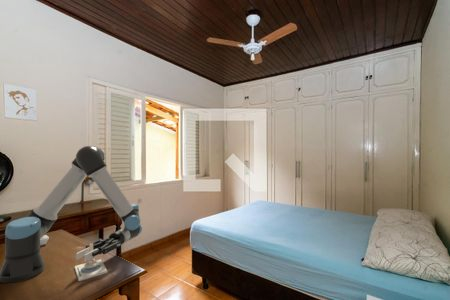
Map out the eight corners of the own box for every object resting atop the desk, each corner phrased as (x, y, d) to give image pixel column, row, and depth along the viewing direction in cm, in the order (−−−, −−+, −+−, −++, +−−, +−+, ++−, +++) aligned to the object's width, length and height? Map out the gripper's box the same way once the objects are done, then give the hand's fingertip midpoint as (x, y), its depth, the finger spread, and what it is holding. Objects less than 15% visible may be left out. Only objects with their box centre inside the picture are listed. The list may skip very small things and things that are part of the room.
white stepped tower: (99, 264, 104) (99, 242, 104) (86, 269, 100) (86, 245, 100) (95, 261, 107) (95, 239, 107) (82, 265, 103) (83, 242, 103)
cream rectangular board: (74, 267, 105) (74, 265, 105) (100, 260, 112) (100, 259, 112) (78, 281, 95) (78, 279, 95) (107, 272, 102) (107, 270, 102)
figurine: (33, 248, 125) (34, 221, 125) (29, 244, 131) (30, 218, 131) (49, 244, 130) (50, 218, 130) (45, 240, 136) (46, 215, 136)
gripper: (132, 246, 119) (96, 268, 96) (106, 242, 123) (65, 263, 100) (132, 232, 119) (96, 251, 96) (106, 229, 123) (66, 246, 101)
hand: (81, 257), depth 98 cm, fingers closed on white stepped tower, 4 cm apart
